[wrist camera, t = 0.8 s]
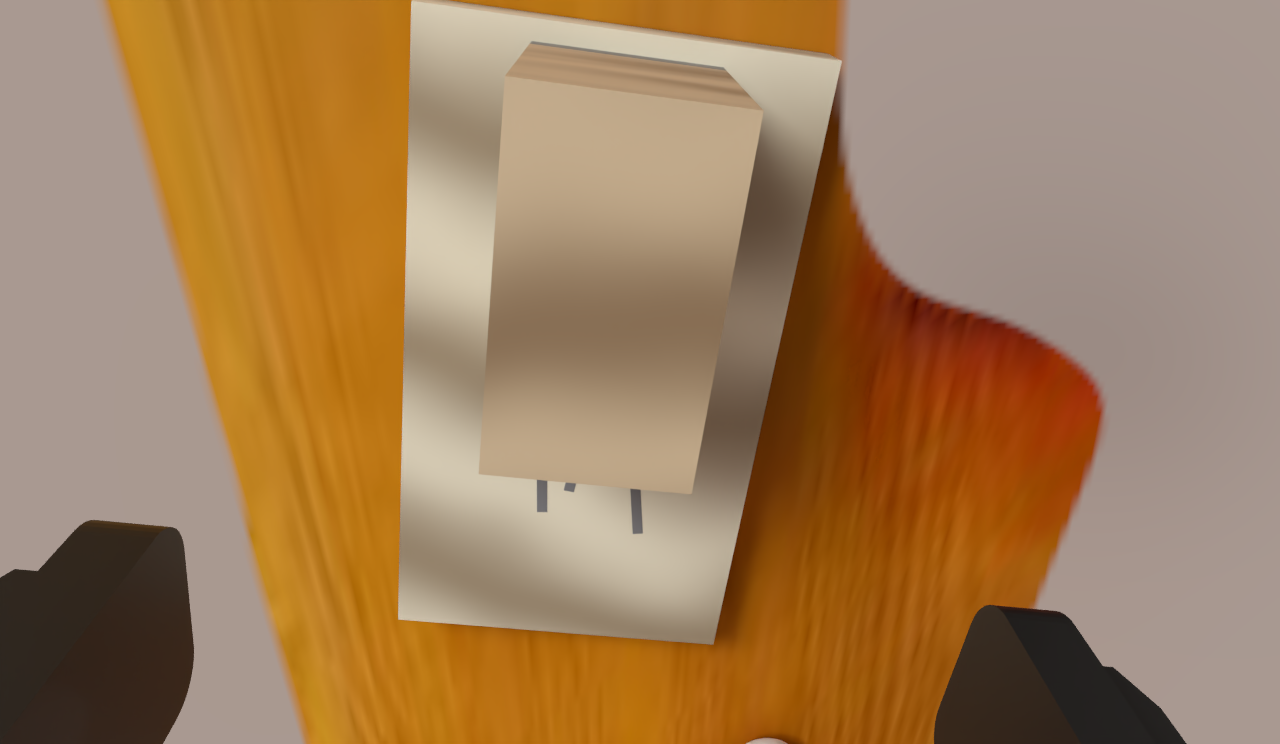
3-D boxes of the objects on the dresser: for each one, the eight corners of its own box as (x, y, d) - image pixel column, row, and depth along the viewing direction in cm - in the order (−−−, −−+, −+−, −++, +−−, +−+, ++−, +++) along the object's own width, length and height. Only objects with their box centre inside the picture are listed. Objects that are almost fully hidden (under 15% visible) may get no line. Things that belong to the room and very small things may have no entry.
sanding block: (532, 41, 21) (504, 76, 15) (723, 67, 21) (763, 111, 16) (507, 354, 24) (478, 474, 19) (672, 372, 24) (691, 494, 19)
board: (423, -4, 21) (411, 0, 20) (827, 53, 22) (841, 60, 21) (407, 587, 29) (397, 619, 28) (708, 612, 30) (713, 644, 29)
